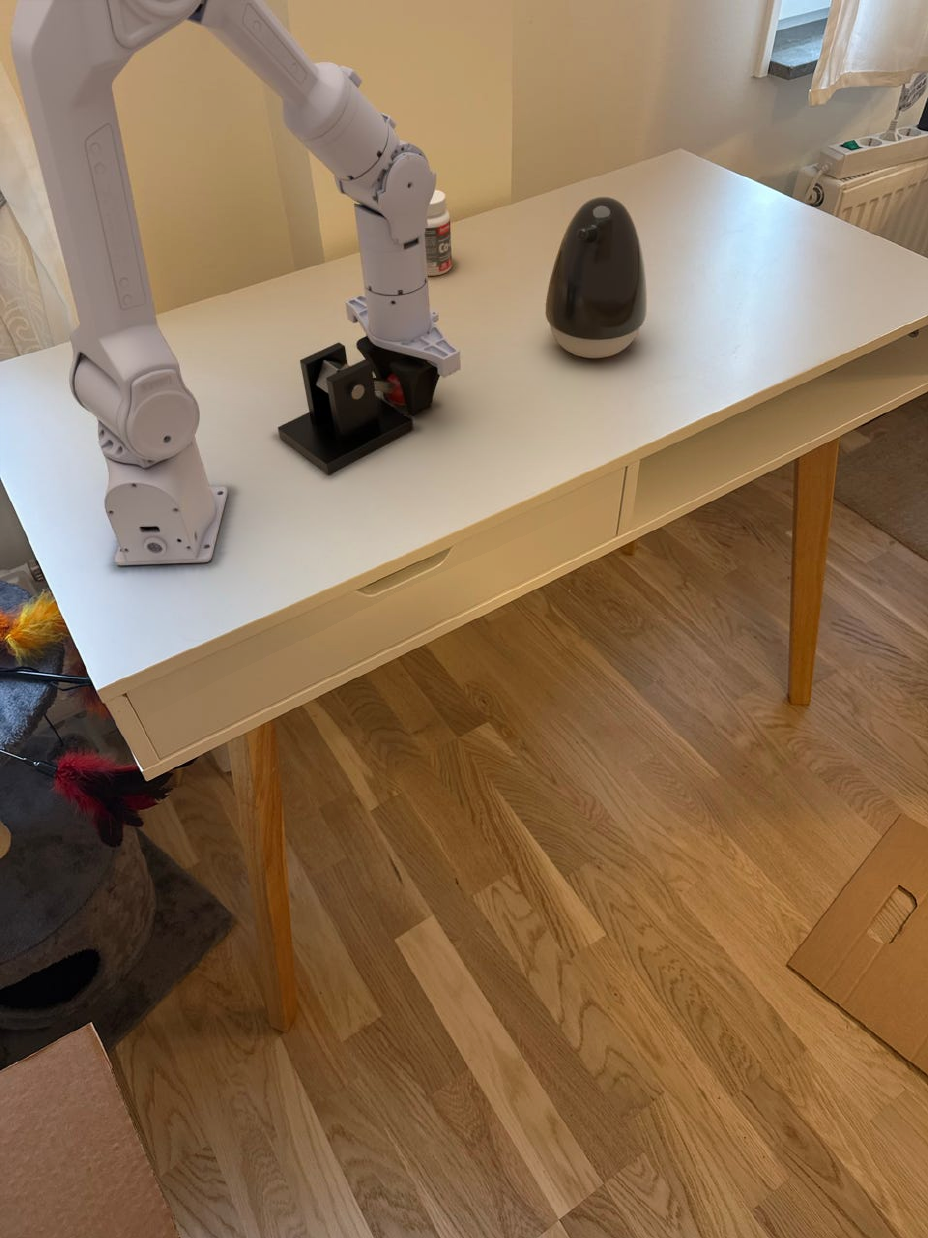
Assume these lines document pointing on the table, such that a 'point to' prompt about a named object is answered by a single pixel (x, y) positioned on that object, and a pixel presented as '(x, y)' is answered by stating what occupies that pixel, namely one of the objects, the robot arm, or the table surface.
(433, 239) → the pill bottle
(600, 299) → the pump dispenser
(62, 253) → the robot arm
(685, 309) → the table surface
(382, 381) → the lever
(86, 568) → the table surface
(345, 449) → the bracket
